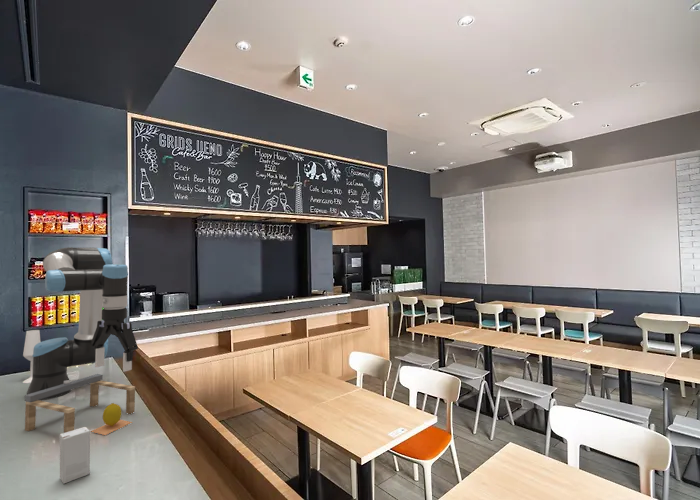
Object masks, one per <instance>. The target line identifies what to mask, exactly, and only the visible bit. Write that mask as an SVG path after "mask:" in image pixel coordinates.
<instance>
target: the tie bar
mask: <svg viewBox="0 0 700 500" xmlns="http://www.w3.org/2000/svg"><path fill="white" fill-rule="evenodd" d="M103 376H104V375H103V374H100V373H95V374H93V375H89V376H86V377H82V378H79V379H75V380H72V381H71V380H70V379H69V380H66V381H64V384H61V385H58V386H55V387H51V388H48V389H44V390H41V391H38V392H34V393H31V394H27V393H26V394H25V395H24V402H25V403H26V402H33V401H36V400H39V399H43V398H46V397H49V396H52V395H55V394H59V393H62V392H65V391H68V390H71V391H72V390H74V389H78V388H81V387H84V386H87V385H90V383H94V382H97V381H100V380H101V381H104V380H103ZM43 400H44V399H43Z"/></svg>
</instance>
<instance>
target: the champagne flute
mask: <svg viewBox="0 0 700 500" xmlns="http://www.w3.org/2000/svg"><path fill="white" fill-rule="evenodd" d="M40 333H41V332H40V329H32V330H31V329H30V330H26V333H25V339H24V345H23V346H24V347H23V351H22V352H23V354H22V357H24V359H26V360H27V361H30V367H29V368H30V369H29V373H30V374H29V377H27V378H26V379H25V380H23V381H22V383H23V384H30V383H31V381H32V376H33V356H32V355H33V350H34V346H35V345H36V344H38V343H40V342H41V334H40Z"/></svg>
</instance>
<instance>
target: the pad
mask: <svg viewBox="0 0 700 500" xmlns="http://www.w3.org/2000/svg"><path fill="white" fill-rule="evenodd" d="M130 423H132V424H133V421H128V420H124V419H120V420H119V421H118V422H117V423H116V424H114V425H113V426H110V425H106V424H104V425H101V426H100V427H97V428H94V429H93V430H91V431H90V433H91V432H94V433H93V434H95V433H98V434H97V435H100V434H102V435H101V436H104V435H106V436H108V435H110V434H112V433H114V432H113V431H115V432H116V430H117V431H119V430H121V429H123V428H125V427H127V426H129V425H128V424H130ZM126 425H127V426H126ZM130 425H131V424H130ZM124 426H125V427H124ZM122 427H123V428H122ZM120 428H121V429H120ZM118 429H119V430H118ZM111 432H112V433H111ZM109 433H110V434H109ZM107 434H108V435H107Z"/></svg>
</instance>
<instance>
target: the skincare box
mask: <svg viewBox="0 0 700 500" xmlns="http://www.w3.org/2000/svg"><path fill="white" fill-rule="evenodd" d="M90 436H91V431H90V429H89V428H88V427H86V426H83V427H80V428H76V429H74V430H73V431H69V432H66V433H64V432H63V433H60V434H59V479H60V481H61V483H62V484H66V483H70V482H72V481H74V480H77V479H80V478H82V477H85V476H87V475H90V473H91V472H90V470H91V469H90V467H91V466H90V464H91V453H90V452H91V437H90Z"/></svg>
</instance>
